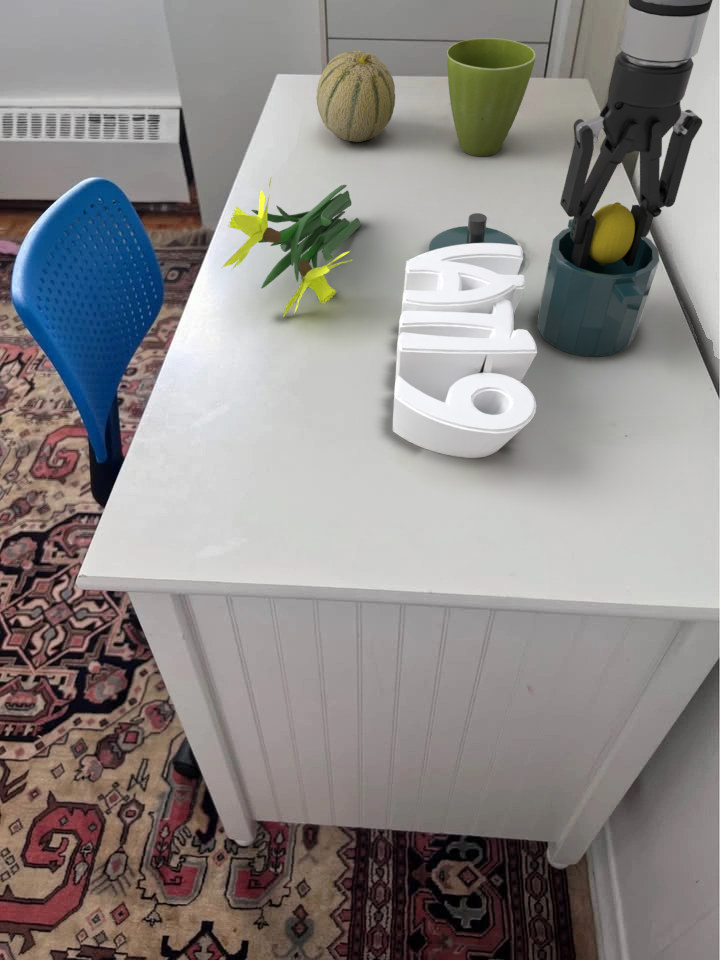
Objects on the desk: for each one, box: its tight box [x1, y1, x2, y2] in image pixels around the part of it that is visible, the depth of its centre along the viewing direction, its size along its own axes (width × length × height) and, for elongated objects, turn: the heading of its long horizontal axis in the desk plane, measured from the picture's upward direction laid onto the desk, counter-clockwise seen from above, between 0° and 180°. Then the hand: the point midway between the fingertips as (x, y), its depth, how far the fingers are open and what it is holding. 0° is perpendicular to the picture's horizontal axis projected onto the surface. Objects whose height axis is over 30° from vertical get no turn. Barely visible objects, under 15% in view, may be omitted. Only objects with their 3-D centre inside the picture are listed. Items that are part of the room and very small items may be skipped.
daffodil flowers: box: [221, 177, 362, 318], centre depth 100 cm, size 17×15×35 cm
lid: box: [428, 212, 519, 252], centre depth 106 cm, size 14×14×6 cm
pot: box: [536, 218, 660, 358], centre depth 92 cm, size 13×18×12 cm
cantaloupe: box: [315, 50, 396, 143], centre depth 132 cm, size 15×15×15 cm
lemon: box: [588, 201, 635, 266], centre depth 86 cm, size 6×6×8 cm
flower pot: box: [446, 37, 537, 157], centre depth 127 cm, size 15×15×16 cm
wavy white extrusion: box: [392, 243, 538, 459], centre depth 86 cm, size 35×16×11 cm, turn 171°
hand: (601, 262), depth 89 cm, fingers closed on lemon, 5 cm apart
